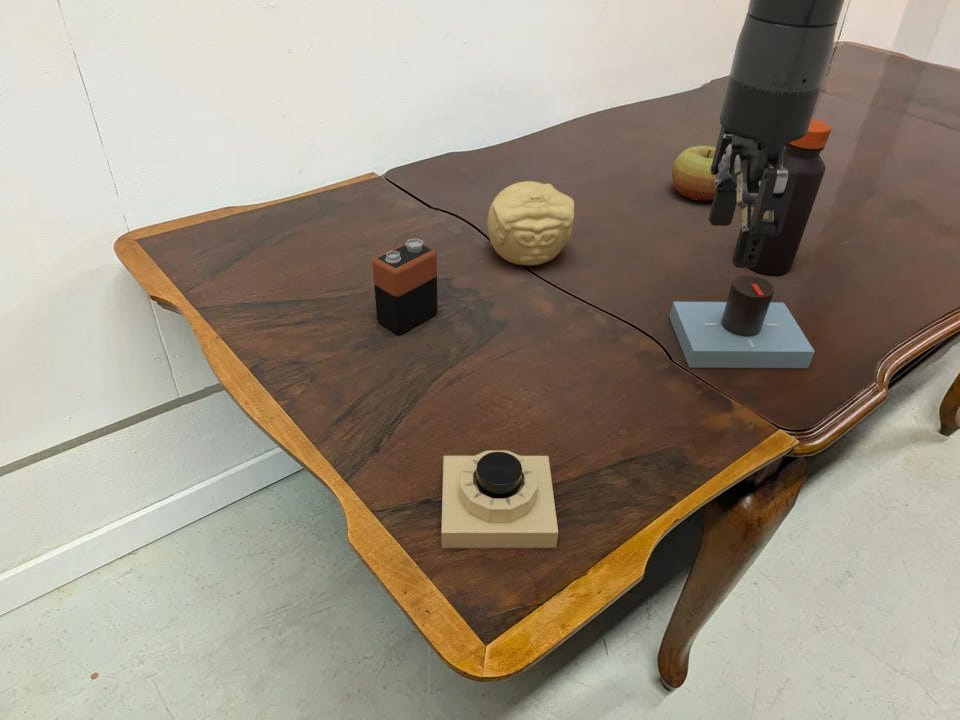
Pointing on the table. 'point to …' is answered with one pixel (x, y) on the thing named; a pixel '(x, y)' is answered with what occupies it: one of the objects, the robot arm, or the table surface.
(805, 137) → the bottle
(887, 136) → the table surface
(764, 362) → the panel
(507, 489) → the button
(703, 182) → the apple
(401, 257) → the battery
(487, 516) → the button box
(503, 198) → the sculpture
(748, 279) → the knob
